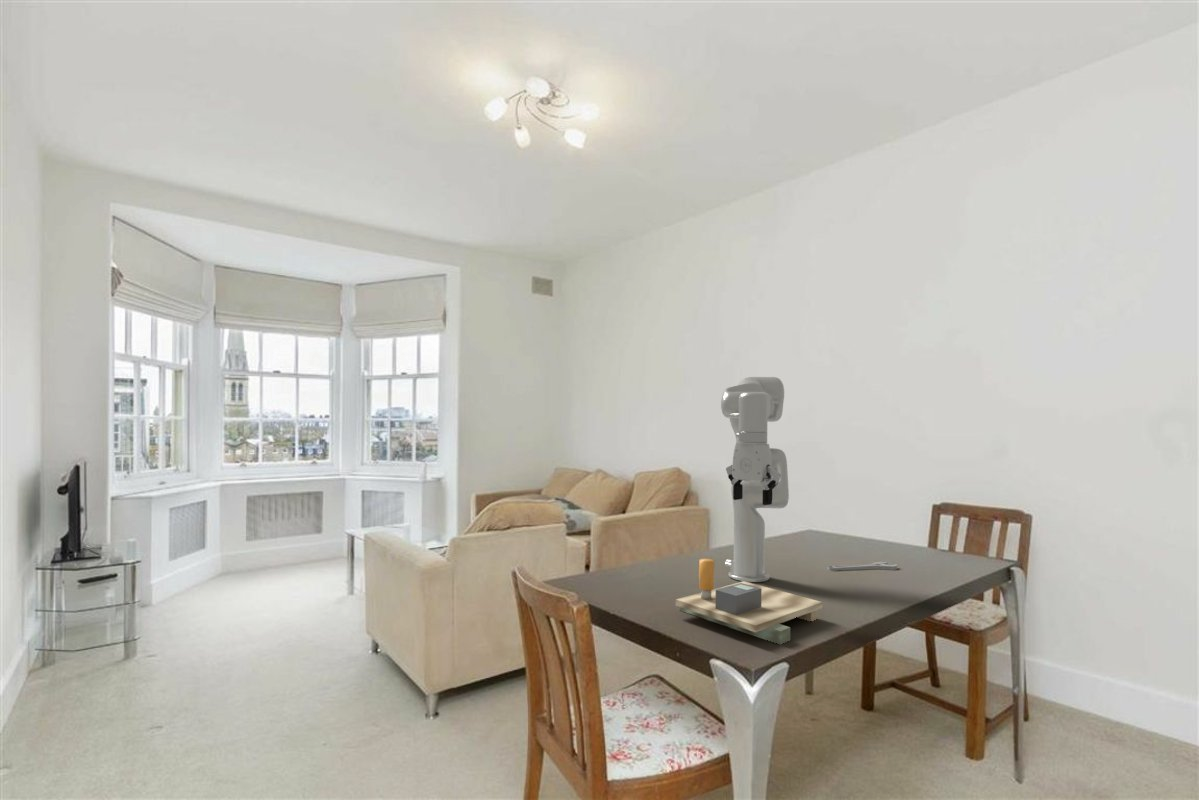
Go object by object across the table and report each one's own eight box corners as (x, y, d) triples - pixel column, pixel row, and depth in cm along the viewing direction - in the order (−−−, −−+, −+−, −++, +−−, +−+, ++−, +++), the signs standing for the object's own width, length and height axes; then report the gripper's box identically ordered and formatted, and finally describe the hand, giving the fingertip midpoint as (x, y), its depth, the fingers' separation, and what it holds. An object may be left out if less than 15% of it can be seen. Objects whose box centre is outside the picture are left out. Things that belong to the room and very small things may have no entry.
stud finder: (715, 608, 145) (715, 589, 146) (741, 601, 152) (741, 582, 152) (735, 615, 141) (736, 595, 141) (761, 607, 147) (761, 587, 147)
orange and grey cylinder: (695, 597, 154) (696, 559, 154) (705, 595, 157) (705, 558, 157) (707, 601, 151) (707, 562, 152) (716, 598, 154) (717, 560, 154)
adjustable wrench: (830, 572, 201) (830, 567, 201) (820, 567, 208) (820, 562, 208) (900, 570, 205) (899, 565, 205) (888, 566, 211) (888, 561, 211)
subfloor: (666, 614, 155) (666, 596, 155) (734, 594, 173) (734, 578, 173) (767, 650, 132) (767, 629, 132) (833, 623, 150) (833, 604, 150)
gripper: (718, 436, 167) (718, 498, 167) (771, 440, 153) (770, 508, 154) (736, 436, 172) (735, 496, 172) (788, 439, 158) (788, 505, 158)
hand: (752, 501), depth 163 cm, fingers open, 9 cm apart
